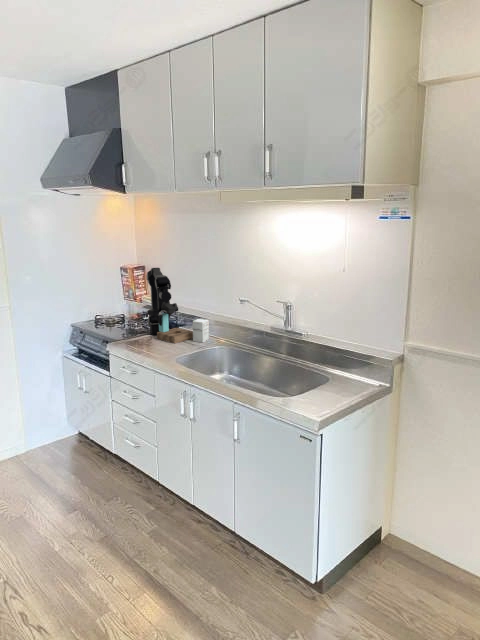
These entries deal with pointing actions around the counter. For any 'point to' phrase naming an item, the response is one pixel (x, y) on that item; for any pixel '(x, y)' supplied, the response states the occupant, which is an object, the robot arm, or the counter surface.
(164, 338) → the walnut socket
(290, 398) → the counter surface
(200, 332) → the supplement box
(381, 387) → the counter surface
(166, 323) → the teal peg
